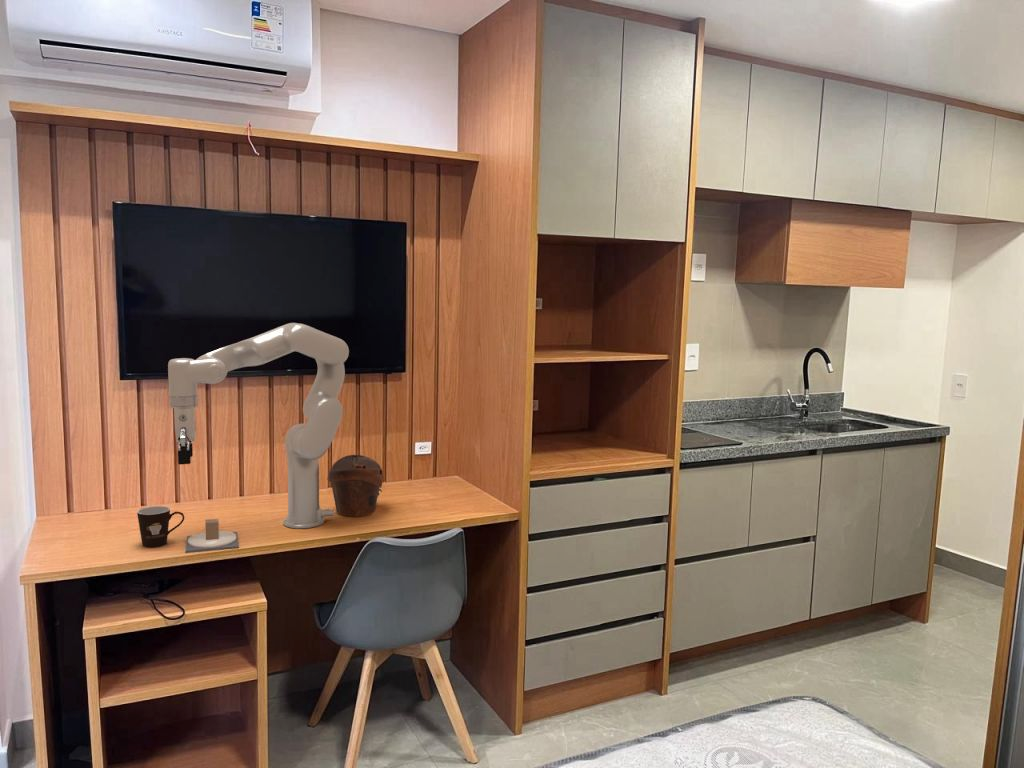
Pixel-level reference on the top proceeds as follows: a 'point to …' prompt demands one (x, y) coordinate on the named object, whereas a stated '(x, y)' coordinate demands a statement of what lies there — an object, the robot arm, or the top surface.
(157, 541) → the coffee mug
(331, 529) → the top surface
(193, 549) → the mat
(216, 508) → the top surface
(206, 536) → the lid
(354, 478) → the brown tapered piece
